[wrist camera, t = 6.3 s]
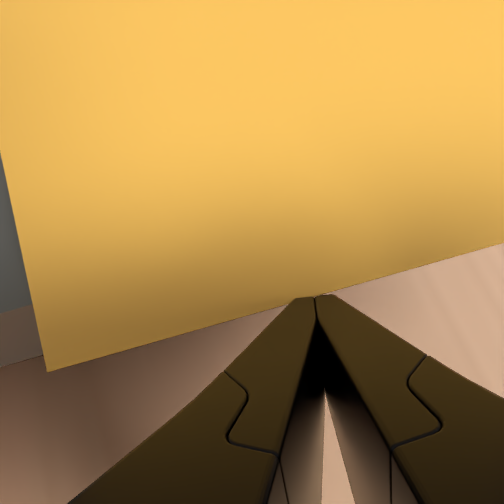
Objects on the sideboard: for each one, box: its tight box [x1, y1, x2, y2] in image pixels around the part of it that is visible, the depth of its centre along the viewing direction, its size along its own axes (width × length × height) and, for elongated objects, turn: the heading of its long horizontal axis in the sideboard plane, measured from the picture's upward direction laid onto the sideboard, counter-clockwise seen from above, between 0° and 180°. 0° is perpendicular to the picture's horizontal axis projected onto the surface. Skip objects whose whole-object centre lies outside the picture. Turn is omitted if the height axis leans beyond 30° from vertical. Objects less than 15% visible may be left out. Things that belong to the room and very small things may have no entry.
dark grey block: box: [0, 153, 43, 367], centre depth 16 cm, size 9×30×8 cm, turn 105°
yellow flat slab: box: [0, 0, 504, 372], centre depth 10 cm, size 10×12×1 cm
